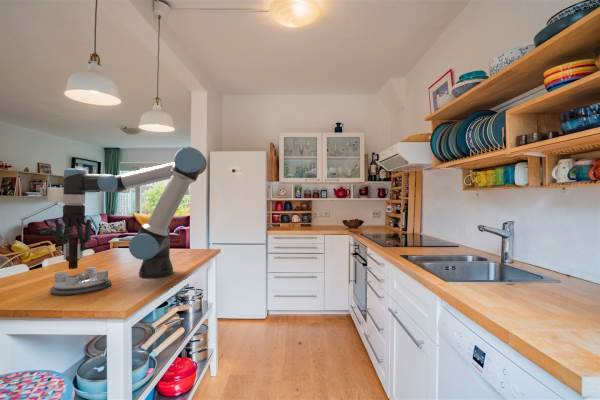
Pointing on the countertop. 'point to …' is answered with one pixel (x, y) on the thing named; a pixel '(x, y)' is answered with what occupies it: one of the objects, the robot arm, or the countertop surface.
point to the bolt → (72, 250)
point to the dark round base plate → (81, 291)
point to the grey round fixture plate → (80, 279)
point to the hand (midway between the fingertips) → (73, 258)
